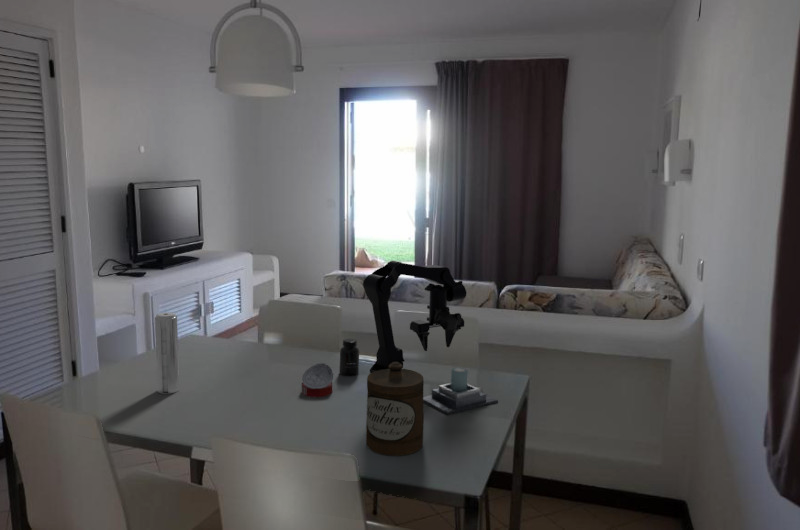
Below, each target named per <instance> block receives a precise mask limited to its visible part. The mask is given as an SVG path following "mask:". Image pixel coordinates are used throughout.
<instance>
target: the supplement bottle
mask: <svg viewBox="0 0 800 530" xmlns="http://www.w3.org/2000/svg"><path fill="white" fill-rule="evenodd" d="M357 341H358V340H357V339H354V338H344V339H343V340H342V346H341V348H340V349H339V350H340V351H339V367H338V368H339V371H338V372H339V374H340V375H341V376H346V377H353V375H354V376H356V374H357V375H358V374H359V371H360V368H359V367H360V349H359V347H357V345H358V344H357V343H358V342H357Z"/></svg>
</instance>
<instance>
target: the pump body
mask: <svg viewBox="0 0 800 530" xmlns="http://www.w3.org/2000/svg"><path fill="white" fill-rule="evenodd" d="M450 371H451V372H450V373H451V374H450V375H451V376H450V377H451V378H450V383H451V390H453V391H455V392H457V393H458V392H463V391H467V384H468V377H469V376H468V372H469V371H468V369H467V368H463V367H454V368H452V369H451V370H450Z"/></svg>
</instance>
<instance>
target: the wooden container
mask: <svg viewBox="0 0 800 530" xmlns="http://www.w3.org/2000/svg"><path fill="white" fill-rule="evenodd" d="M366 377H367V378H366V388H367V393H366V394H367V398H366V399H367V400H366V401H367V402H366V420H365V421H366V423H365V424H366V425H365V429H366V433H365V434H366V435H365V436H366V440H365V441H366V443H365V444H366V446H367V447H368V449H369V450H371V451H372V452H374V453H377V454H380V455H384V456H392V457H401V456H405V455H410V454H414V453H416V452H418V451H420V450H421V448H423V445H424V420H425V419H424V417H425V416H424V412H425V411H424V402H423V397H424V383H425V382H424V380H425V379H424V376H423V375H422V374H421V373H420V372H418V371H416V370H411V369H407V368H406V369H405V368H402V364H401V363H399V362H392V363H391V364H390V365H389V369H383V370H378V371H375V372H372V373H370V372H369V374H368V375H367V376H366Z"/></svg>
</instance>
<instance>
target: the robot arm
mask: <svg viewBox="0 0 800 530" xmlns="http://www.w3.org/2000/svg"><path fill="white" fill-rule="evenodd" d="M400 276H409V277H415V278H421V279H424V280H425V281H428V282H430V283H428V285H427V286H426V287H425V288H424V290H425V291H426V292H429V305H427V307H426V309H428V310H429V311H428V312H429V313H428V316H426V321H427V322H426V321H424V320H421V319H420V320H419V319H418V320H412V321H411V322H410V323H409V330H411V331H412V332H414V333H416V336H417V337H418V338H419V339H418V340H419V341H420V343H421V346H422V348H423V351H424V352H427V351H428V340H429V338H428V337H429V335H430V332H429V330H430V329H431V328H438V327H441V328H442V329H443V330H444V333H445V334H444V335H445V345H446V347H447V348H450V346H451V344H452V341H453V339H454V337H455V334H456V333H457V332H458V331H459V330H461V329H462V328H464V327H465V319H464V318H463V317H462V314H461V313H459V312H457V313H451V312H450V306H447V305H448V302H449V303H451V302H458V301H463V300H465V298H466V296H467V290H466V287H465V285H463V280H461V279H460V280H459V279H457V280H455V279H454V277H453V275H452V273H451V270H450V268H449V267H448V266H442V265H437V264H427V265H417V264H410V263H404V262H401V261H398V260H397V261H396V260H390V261H388V262H387V263H386V264H385V265H384V266H381V267H379V268H378V269H375V270H374V271H373V272H372V273H371V274H368V275H367V276H366V277H365V279H364V280H363V282H362V285H363V290H364V292H365V295H366V297H367V299H368V300H369V302H370V303H371V307H372V311H373V312H372V313H373V318H374V323H375V330H376V334H377V335H376V336H377V340H378V341H377V342H378V349H377V351H376V354H375V355H376V356H375V357H376V358H375V359H376V361H374V363H373V365H371V368H370V369H369V374H370V373H372V372H375V371H378V370H383V369H389V365H390V364H391V363H392V362H399V363H401V364H402V369H404V362H405V359H404V351H403V349H402V348H399V347H397V346H396V345H395V344H396V343H395V340H394V333H393V325H392V321H391V312H390V309H389V300H390V298H391V296H392V288H393V287H394V286H395V285H396V284H397V282H398V280H399V278H400ZM434 283H436V284H434Z"/></svg>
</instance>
